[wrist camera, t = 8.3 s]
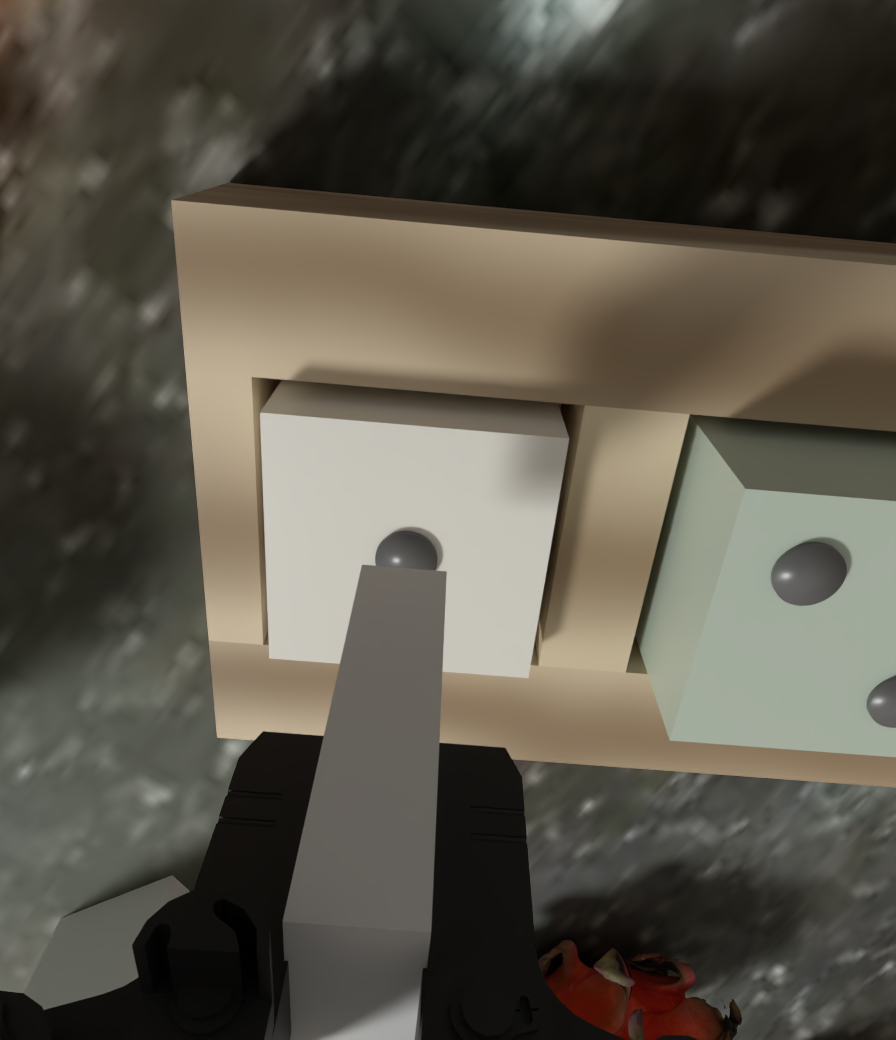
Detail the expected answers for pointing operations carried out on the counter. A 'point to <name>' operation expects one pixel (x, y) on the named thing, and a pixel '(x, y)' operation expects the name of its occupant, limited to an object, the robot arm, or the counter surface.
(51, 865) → the counter surface
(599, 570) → the key panel
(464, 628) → the key one
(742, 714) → the key two
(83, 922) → the white cube
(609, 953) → the dragon fruit
